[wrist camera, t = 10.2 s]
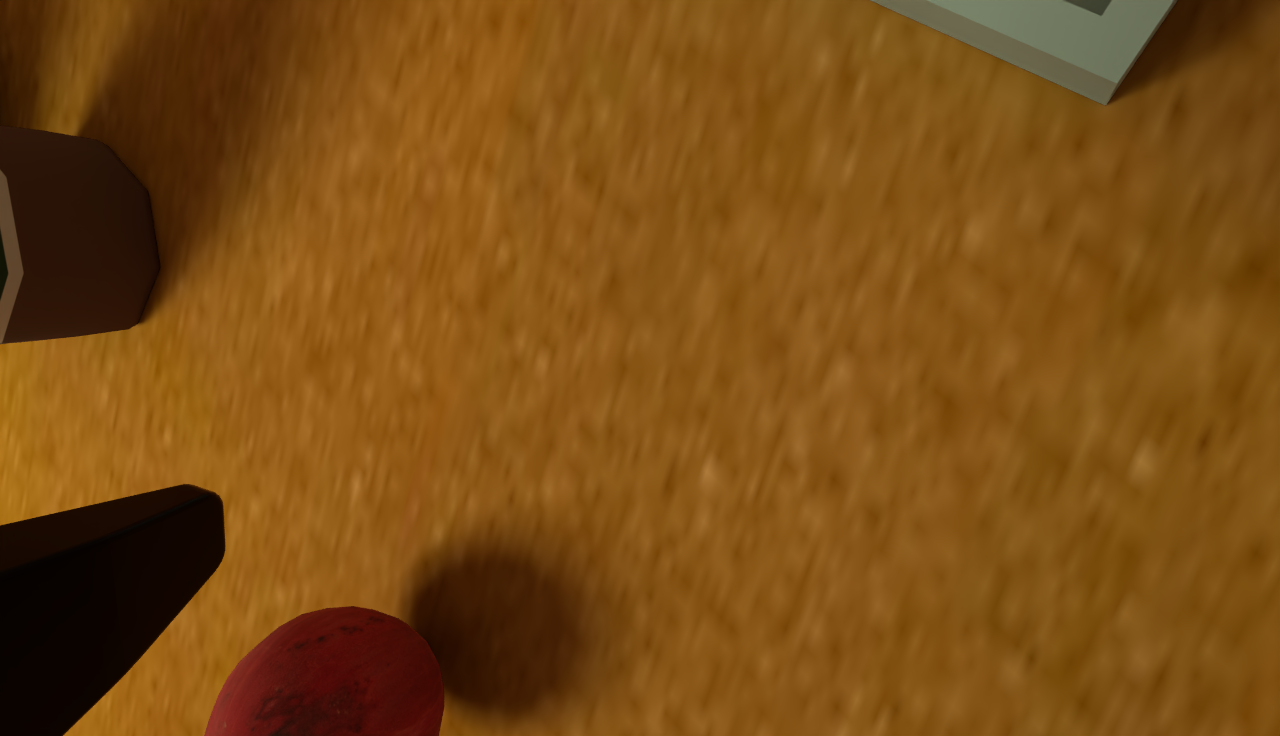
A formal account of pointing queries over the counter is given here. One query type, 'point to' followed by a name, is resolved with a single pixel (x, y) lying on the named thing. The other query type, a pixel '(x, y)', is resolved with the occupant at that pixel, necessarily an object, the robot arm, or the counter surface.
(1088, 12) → the teal tray
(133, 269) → the beer bottle
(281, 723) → the onion
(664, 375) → the counter surface
